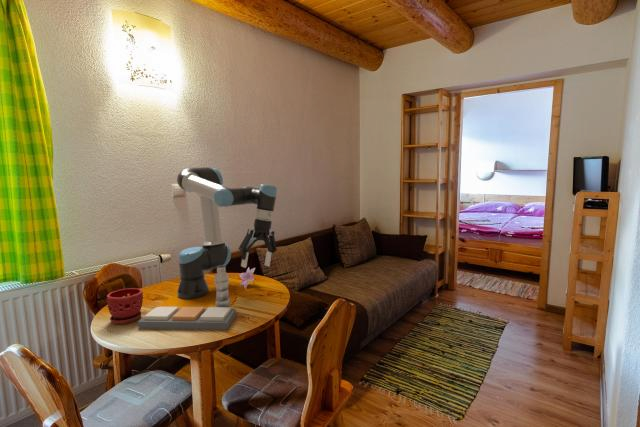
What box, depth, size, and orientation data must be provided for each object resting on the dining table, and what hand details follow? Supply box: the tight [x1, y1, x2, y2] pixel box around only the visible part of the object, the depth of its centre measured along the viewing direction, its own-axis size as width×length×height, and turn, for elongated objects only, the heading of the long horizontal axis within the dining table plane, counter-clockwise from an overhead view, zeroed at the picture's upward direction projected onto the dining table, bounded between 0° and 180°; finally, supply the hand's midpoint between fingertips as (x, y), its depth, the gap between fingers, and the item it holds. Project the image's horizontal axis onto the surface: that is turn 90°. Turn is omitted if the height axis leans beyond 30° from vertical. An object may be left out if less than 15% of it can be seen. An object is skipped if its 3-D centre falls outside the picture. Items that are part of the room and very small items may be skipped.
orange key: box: [172, 306, 205, 321], centre depth 138 cm, size 9×9×2 cm
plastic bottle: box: [213, 265, 231, 307], centre depth 150 cm, size 6×7×20 cm
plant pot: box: [106, 287, 144, 325], centre depth 141 cm, size 13×13×12 cm
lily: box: [239, 266, 256, 290], centre depth 182 cm, size 12×12×10 cm
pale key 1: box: [143, 306, 179, 320], centre depth 139 cm, size 9×9×2 cm
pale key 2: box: [200, 306, 232, 321], centre depth 138 cm, size 9×9×2 cm
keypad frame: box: [137, 308, 237, 331], centre depth 138 cm, size 13×36×3 cm, turn 88°
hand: (255, 266), depth 147 cm, fingers open, 13 cm apart
